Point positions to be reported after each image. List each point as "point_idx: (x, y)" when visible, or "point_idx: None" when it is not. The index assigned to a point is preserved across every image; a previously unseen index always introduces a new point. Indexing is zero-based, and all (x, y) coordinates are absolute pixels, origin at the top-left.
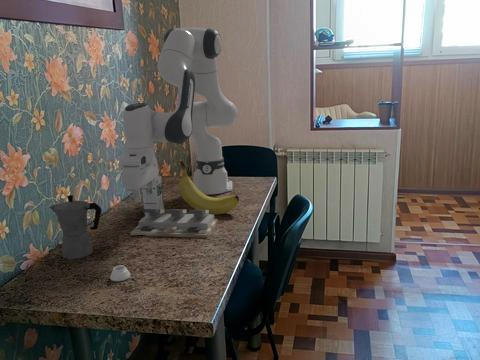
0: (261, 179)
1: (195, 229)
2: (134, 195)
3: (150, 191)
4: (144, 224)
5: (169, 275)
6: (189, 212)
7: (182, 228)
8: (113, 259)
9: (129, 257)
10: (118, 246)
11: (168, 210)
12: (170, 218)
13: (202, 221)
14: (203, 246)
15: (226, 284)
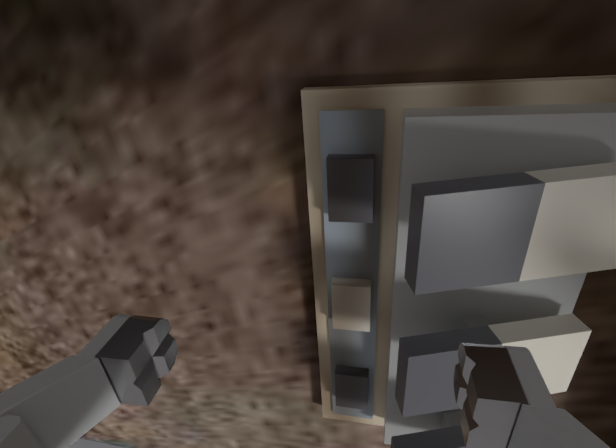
0: None
1: (342, 397)
2: (45, 378)
3: (464, 408)
4: (401, 156)
5: (52, 345)
6: (393, 444)
7: (388, 339)
8: (36, 144)
9: (81, 201)
10: (149, 94)
11: (404, 366)
12: (467, 302)
13: (409, 429)
14: (250, 399)
15: (82, 438)
